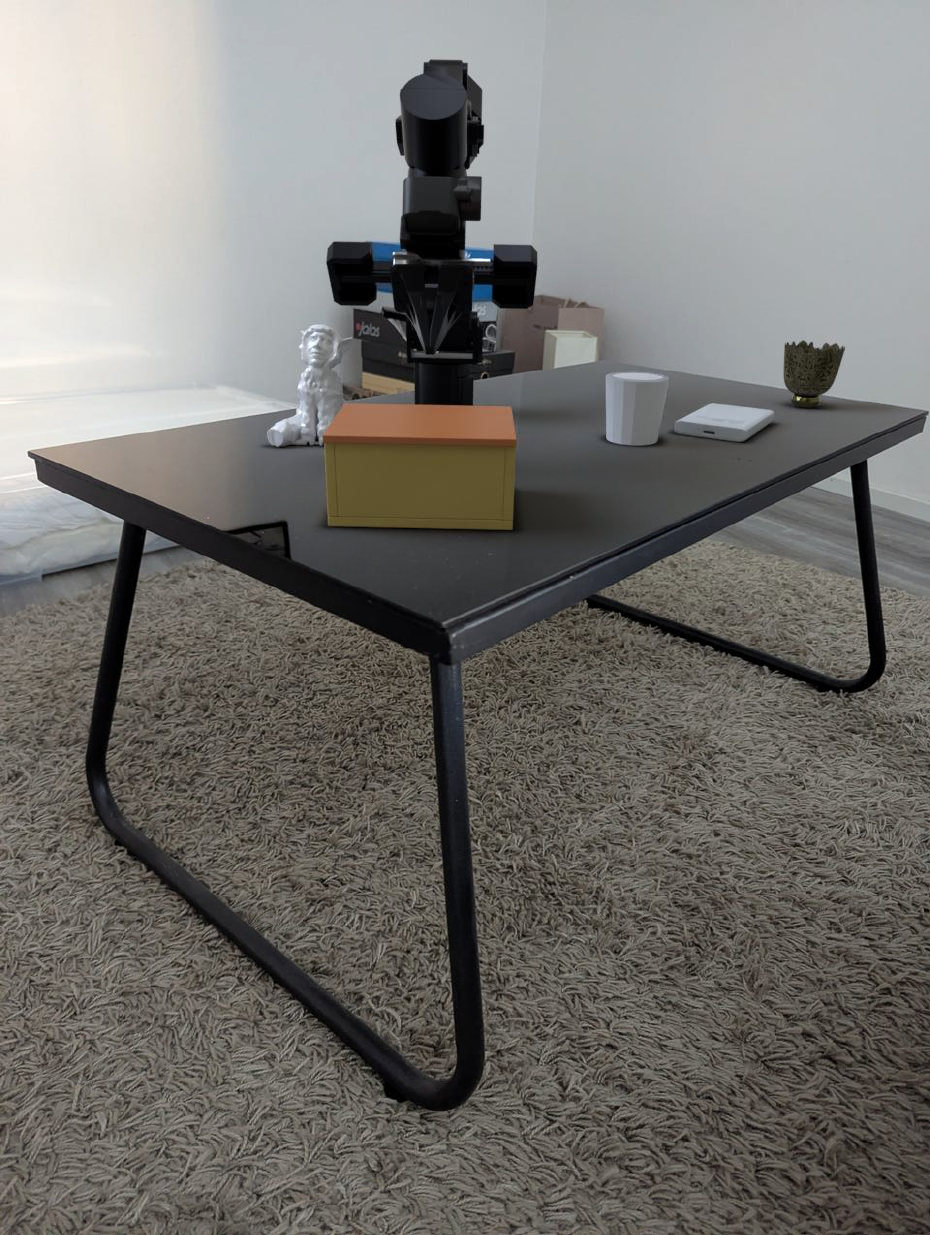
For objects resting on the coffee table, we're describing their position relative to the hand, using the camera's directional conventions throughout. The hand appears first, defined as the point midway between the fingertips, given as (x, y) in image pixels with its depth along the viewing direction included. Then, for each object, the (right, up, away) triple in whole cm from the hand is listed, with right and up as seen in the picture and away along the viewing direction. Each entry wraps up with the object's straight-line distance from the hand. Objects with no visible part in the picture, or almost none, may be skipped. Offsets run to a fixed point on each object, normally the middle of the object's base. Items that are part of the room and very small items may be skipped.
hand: (429, 351), depth 79 cm
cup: (+48, +5, +41) cm, 64 cm away
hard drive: (+34, -1, +27) cm, 44 cm away
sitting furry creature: (-13, -4, +18) cm, 23 cm away
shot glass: (+22, -4, +21) cm, 31 cm away
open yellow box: (0, -14, -3) cm, 14 cm away
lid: (0, -8, -6) cm, 10 cm away
